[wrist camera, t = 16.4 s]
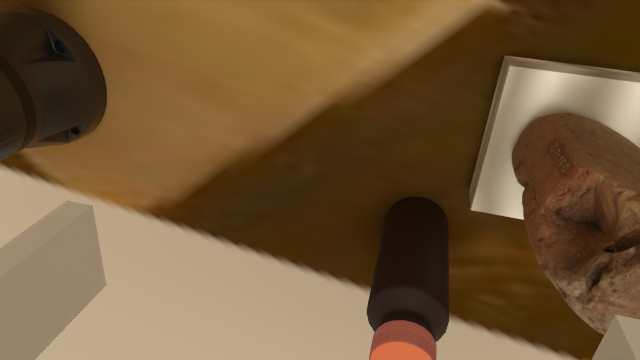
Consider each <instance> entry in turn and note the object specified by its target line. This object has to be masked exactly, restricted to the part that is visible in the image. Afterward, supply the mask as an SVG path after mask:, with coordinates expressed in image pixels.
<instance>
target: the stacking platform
mask: <svg viewBox="0 0 640 360" xmlns="http://www.w3.org/2000/svg"><path fill="white" fill-rule="evenodd" d="M554 113H572V114H574V115H578V116H582V117H585V118H588V119H590V120H592V121H597V122H600V123H601V124H603V125H605V126H607V127H609V128H611V129H612V130H614V131H616V132H617V133H619V134H621V135H622V136H624V137H625V138H627V139H628V140H630V141H631V142H633V143H634V144H635V145H637V146H638V147H639V148H640V73H639V72H631V71H623V70H615V69H608V68H600V67H592V66H584V65H576V64H568V63H560V62H552V61H545V60H537V59H529V58H521V57H513V56H504V60H503V63H502V67H501V71H500V75H499V79H498V82H497V86H496V90H495V94H494V98H493V101H492V105H491V109H490V113H489V117H488V120H487V124H486V128H485V132H484V136H483V139H482V143H481V147H480V151H479V155H478V158H477V162H476V166H475V170H474V174H473V177H472V181H471V185H470V189H469V196H470V206H471V210H474V211H480V212H485V213H490V214H496V215H501V216H507V217H512V218H518V219H523V220H524V217H523V205H522V194H523V191H524V189H525V188H524V187H523V186H521V185H520V184H519V183H518V182H517V178H516V177H515V174H514V169H513V166H512V151H513V148H514V146H515V144H516V142H517V140H518V138H519V136H520V135H521V133H522V131H523V130H524V129H525V128H526V127H527V126H528V125H529V123H530V122H531V121H532V120H534V119H536V118H538V117H540V116H545V115H547V114H548V115H549V114H554Z"/></svg>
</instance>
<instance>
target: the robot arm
mask: <svg viewBox="0 0 640 360" xmlns="http://www.w3.org/2000/svg"><path fill="white" fill-rule="evenodd" d="M105 105H106V89H105V83H104V79H103V75H102V72H101V69H100V67H99V64H98V62H97V60H96V58H95V56H94V55H93V53H92V51H91V50H90V48H89V47H88V46H87V44H86V43H85V42H84V40H83V39H82V38H81V37H80V36H79V35H78V34H77V33H76V32H75V31H74V30H73V29H72V28H71V27H69V26H68V25H67V24H66V23H64V22H63V21H61V20H59V19H58V18H56V17H54V16H52V15H50V14H48V13H45V12H41V11H37V10H30V9H24V10H17V11H11V12H6V13H2V14H0V160H2V159H4V158H6V157H8V156H10V155H12V154H14V153H16V152H18V151H20V150H22V149H24V148H33V147H43V146H52V145H62V144H66V143H70V142H73V141H75V140H77V139H79V138H81V137H83V136H84V135H86V134H88V133H90V132H91V131H92V130H93V129H94V128H95V127H96V126H97V125H98V124H99V122H100V120H101V118H102V116H103V114H104V110H105ZM105 286H106V282H105V276H104V270H103V265H102V258H101V253H100V247H99V241H98V235H97V229H96V224H95V218H94V212H93V206H90V205H85V204H81V203H76V202H71V201H66V202H65V203H63V204H62V205H60V206H59V207H58V208H56V209H55V210H53V211H52V212H51V213H49V214H48V215H46V216H45V217H43V218H42V219H41V220H39V221H38V222H36V223H35V224H34V225H33V226H31V227H29V228H28V229H27V230H25V231H24V232H22V233H21V234H20V235H18V236H17V237H15V238H14V239H12V240H11V241H10V242H8V243H7V244H5V245H4V246H3V247H1V248H0V360H35V359H36V358H37V357H38V356H39V355H40V353H41V352H42V351H43V350H44V349H45V348H46V347H47V346H48V345H49V344H50V343H51V342H52V341H53V340H54V339H55V338H56V337H57V336H58V335H59V334H60V333H61V332H62V331H63V329H65V327H66V326H67V325H68V324H69V323H70V322H71V321H72V320H73V319H74V318H75V317H76V316H77V315H78V314H79V313H80V311H82V310H83V309H84V307H85V306H86V305H87V304H88V303H89V302H90V301H91V300H92V299H93V298H94V297H95V296H96V295H97V294H98V293H99V292H100V291H101V290H102V289H103V288H104V287H105ZM592 360H640V320H639V319H634V318H629V317H625V316H620V315H615V316H614V318H613V320H612V322H611V324H610V326H609V328H608V330H607V332H606V334H605V336H604V337H603V339H602V341H601V343H600V345H599V347H598V349H597V351H596V353H595V355H594V357H593V359H592Z"/></svg>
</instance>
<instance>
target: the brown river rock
mask: <svg viewBox="0 0 640 360" xmlns="http://www.w3.org/2000/svg"><path fill="white" fill-rule="evenodd" d="M512 166H513V169H514V174H515V177H516V178H517V182H518V183H519V184H520V185H521V186H523V187H524V188H525V189H524V191H523V194H522V205H523V217H524V221H525V226H526V230H527V234H528V238H529V241H530V243H531V246H532V248H533V251H534V253H535V256H536V259H537V261H538V263H539V265H540V266H541V268H542V270H543V272H544V273H545V275H546V276H547V277H548V278H549V279H550V280H551V282H552V283H553V285H554V286H555V287H556V289H557V290H558V291H559V292H560V294H561V295H562V297H563V298H564V300H565V301H566V302H567V304H568V305H569V306H570V307H571V308H572V310H573V311H574V312H575V313H576V314H577V315H578V316H579V317H580V318H582V319H583V320H584V321H585V322H586V323H588V324H589V325H590V326H591V327H592V328H593V329H595V330H597V331H598V332H600V333H602V334H604V335H605V334H606V332H607V330H608V328H609V326H610V324H611V322H612V320H613V318H614V316H615V315H620V316H625V317H629V318H634V319H639V320H640V148H639V147H638V146H637V145H635V144H634V143H633V142H631V141H630V140H628V139H627V138H625V137H624V136H622V135H621V134H619V133H617V132H616V131H614V130H612V129H611V128H609V127H607V126H605V125H603V124H601V123H600V122H597V121H592V120H590V119H588V118H585V117H582V116H578V115H574V114H572V113H554V114H549V115H548V114H547V115H545V116H540V117H538V118H536V119H534V120H532V121H531V122H530V123H529V125H528V126H527V127H526V128H525V129H524V130H523V131H522V133H521V135H520V136H519V138H518V140H517V142H516V144H515V146H514V148H513V151H512Z"/></svg>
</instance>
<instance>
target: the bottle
mask: <svg viewBox="0 0 640 360" xmlns="http://www.w3.org/2000/svg"><path fill="white" fill-rule="evenodd" d="M367 316H368V321H369V324H370V326H371V327H372V328H373V330H374V332H375V333H374V336H373V341H372V345H371V351H370V356H369V360H436V341H438V340H439V339H440V338H441V337H442V336H443V334H444V333H445V332H446V329H447V326H448V323H449V265H448V223H447V218H446V216H445V215H444V213H443V211H442V210H441V209H440V208H439V207H438V206H437V205H436V204H434V203H432V202H430V201H428V200H424V199H419V198H413V199H406V200H403V201H401V202H398V203H397V204H396V205H395V206H393V207H392V208H391V209H390V211H389V213H388V214H387V217H386V221H385V226H384V231H383V235H382V240H381V245H380V249H379V254H378V259H377V264H376V268H375V273H374V278H373V282H372V287H371V292H370V296H369V301H368V307H367Z"/></svg>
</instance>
